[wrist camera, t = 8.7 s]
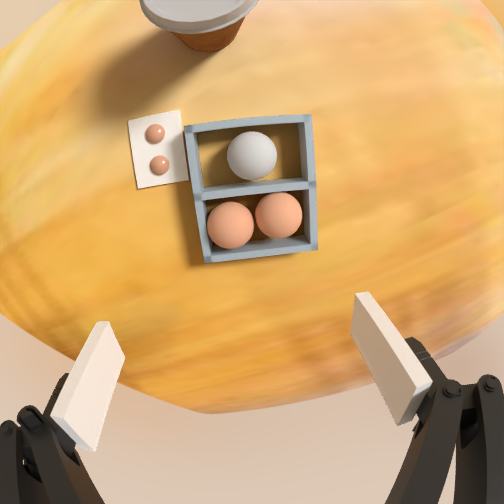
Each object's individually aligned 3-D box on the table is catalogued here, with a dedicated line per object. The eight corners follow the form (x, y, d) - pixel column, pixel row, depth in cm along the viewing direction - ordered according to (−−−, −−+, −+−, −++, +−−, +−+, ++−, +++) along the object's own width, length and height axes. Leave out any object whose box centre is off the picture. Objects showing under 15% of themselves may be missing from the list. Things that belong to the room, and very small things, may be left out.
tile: (138, 188, 30) (137, 189, 30) (128, 120, 27) (127, 120, 27) (189, 179, 30) (188, 180, 30) (180, 109, 27) (179, 109, 27)
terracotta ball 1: (213, 242, 34) (206, 257, 29) (208, 200, 32) (199, 209, 27) (256, 238, 33) (256, 253, 29) (252, 196, 32) (251, 204, 27)
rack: (206, 252, 34) (204, 263, 31) (188, 126, 28) (183, 126, 25) (310, 240, 34) (317, 250, 32) (304, 115, 28) (311, 114, 26)
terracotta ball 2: (248, 236, 32) (268, 245, 28) (246, 192, 31) (266, 194, 26) (287, 231, 34) (311, 239, 30) (286, 189, 33) (311, 191, 28)
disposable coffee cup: (221, 79, 26) (215, 47, 15) (150, 45, 24) (111, 6, 13) (269, 18, 23) (288, -33, 12) (198, -14, 21) (186, -70, 10)
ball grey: (229, 178, 31) (229, 186, 26) (224, 134, 29) (223, 134, 24) (274, 173, 31) (282, 181, 26) (271, 129, 29) (278, 129, 24)
